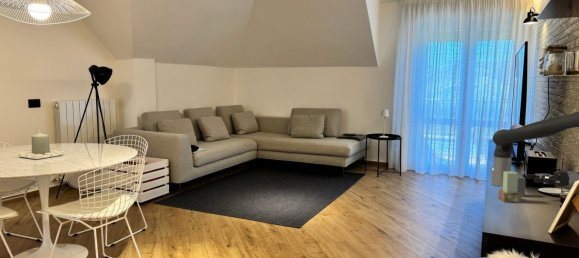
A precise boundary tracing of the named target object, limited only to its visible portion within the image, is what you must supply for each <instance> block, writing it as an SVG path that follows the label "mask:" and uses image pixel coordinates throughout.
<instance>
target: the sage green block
mask: <svg viewBox="0 0 579 258" xmlns="http://www.w3.org/2000/svg"><path fill="white" fill-rule="evenodd" d="M518 176H519V173H518V172H517V171H512V170H511V171H503V187H502V189H503V191H505V192H506V193H517V189H518Z"/></svg>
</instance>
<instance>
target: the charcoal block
mask: <svg viewBox="0 0 579 258" xmlns="http://www.w3.org/2000/svg"><path fill="white" fill-rule="evenodd" d="M526 179H527V177H526V178H525V177H524V176H521V175H520V176H519V175H518V189H517V191H518V192H520V193H521V198H525V197H526Z"/></svg>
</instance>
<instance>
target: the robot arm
mask: <svg viewBox="0 0 579 258" xmlns="http://www.w3.org/2000/svg"><path fill="white" fill-rule="evenodd" d="M572 128H573V129H574V128H579V111H576V112H572V113H570V114H567V115H564V116H563V115H562V116H558V117H557V116H556V117H553V118H549V119H542V120H538V121H535V122H531V123H528V124H525V125H523V126H519V127H515V128H510V129H504V128H503V129H499V130H497V131H495V132H494V133H493V134H492V142H493V143H494V144H495V149H494V152H493V166H492V167H493V168H492V169H491V181H490V182H491V185H493V186H496V187H502V188H503V171H512V154H513V150H514V143H517V142H520V141H528V140H537V139H543V138H548V137H551V136H554V135H556V134H559V133H561V132H563V131H565V130H568V129H572ZM526 179H527V180H533V181H534V183H535V184H536V183H537V184H538V183H539V184H542V183H543V184H545V185H554V186H555V187H564V188H565V187H567V188H568V187H571V188H572V186H573V184H574V182H575V181H577V180H579V171H569V170H568V171H563V170H562V171H558V170H557V171H554V172H553V173H552V174H550V173H544V172H543V173H538V172H536V173H534V174H531V173H530V174H527V175H526Z"/></svg>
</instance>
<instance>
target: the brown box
mask: <svg viewBox="0 0 579 258" xmlns="http://www.w3.org/2000/svg"><path fill="white" fill-rule="evenodd" d="M497 194H498V196H497V197H498V198H497V199H499V200H500V201H501V202H502V203H505V204H506V203H508V204H513V203H514V204H522V197H521V193H520V192H518V191H517V193H506V192H505V191H503V188H502V189H501V188H499V189H498V193H497Z"/></svg>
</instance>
